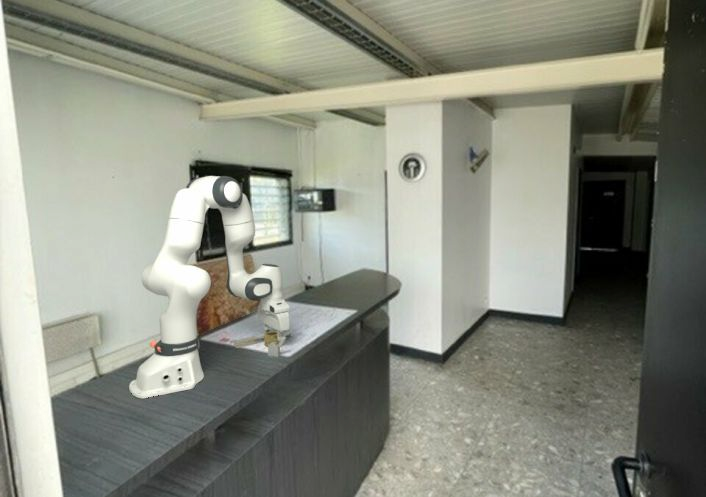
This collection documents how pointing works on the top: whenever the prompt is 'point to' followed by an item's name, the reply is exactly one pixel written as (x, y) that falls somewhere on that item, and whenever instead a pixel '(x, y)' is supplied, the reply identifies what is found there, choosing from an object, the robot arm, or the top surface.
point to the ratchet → (255, 340)
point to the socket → (270, 338)
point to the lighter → (275, 347)
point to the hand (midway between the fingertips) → (273, 336)
